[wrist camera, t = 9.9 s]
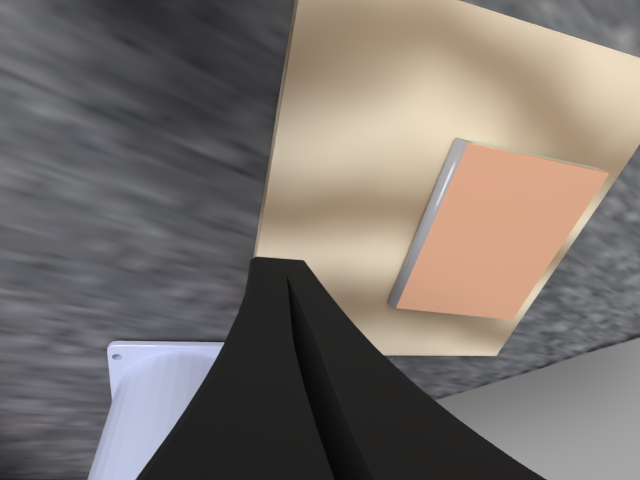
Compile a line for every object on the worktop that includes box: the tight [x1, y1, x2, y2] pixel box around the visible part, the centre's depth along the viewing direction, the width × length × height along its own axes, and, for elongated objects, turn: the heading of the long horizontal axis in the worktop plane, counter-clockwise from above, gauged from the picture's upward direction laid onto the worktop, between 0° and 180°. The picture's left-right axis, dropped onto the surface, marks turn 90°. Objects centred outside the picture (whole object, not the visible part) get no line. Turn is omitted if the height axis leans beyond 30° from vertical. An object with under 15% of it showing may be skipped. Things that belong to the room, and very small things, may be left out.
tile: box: [388, 138, 609, 320], centre depth 20 cm, size 10×8×1 cm
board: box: [253, 0, 640, 356], centre depth 20 cm, size 20×19×1 cm
